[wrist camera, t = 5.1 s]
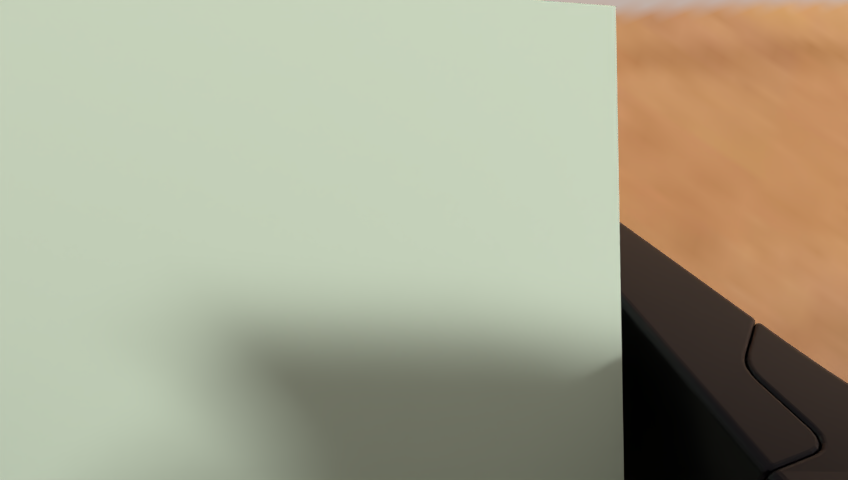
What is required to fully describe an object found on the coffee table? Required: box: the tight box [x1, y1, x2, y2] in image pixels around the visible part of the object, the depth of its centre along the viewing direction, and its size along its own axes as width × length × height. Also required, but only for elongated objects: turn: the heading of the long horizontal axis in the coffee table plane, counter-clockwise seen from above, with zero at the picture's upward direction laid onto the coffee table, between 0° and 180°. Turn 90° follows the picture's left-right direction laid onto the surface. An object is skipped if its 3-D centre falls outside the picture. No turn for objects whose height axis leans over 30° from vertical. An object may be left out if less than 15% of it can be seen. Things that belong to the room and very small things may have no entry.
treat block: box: [0, 0, 624, 480], centre depth 11 cm, size 5×5×10 cm
